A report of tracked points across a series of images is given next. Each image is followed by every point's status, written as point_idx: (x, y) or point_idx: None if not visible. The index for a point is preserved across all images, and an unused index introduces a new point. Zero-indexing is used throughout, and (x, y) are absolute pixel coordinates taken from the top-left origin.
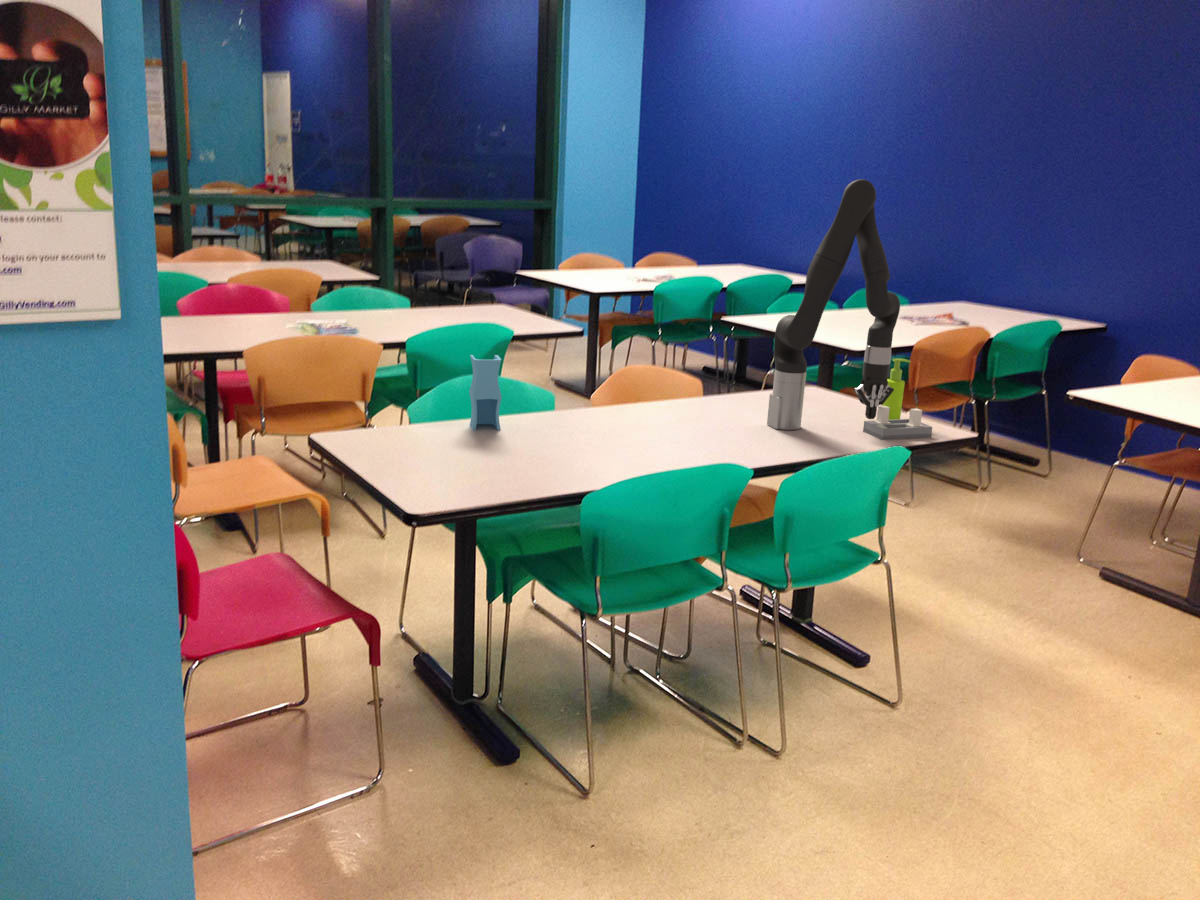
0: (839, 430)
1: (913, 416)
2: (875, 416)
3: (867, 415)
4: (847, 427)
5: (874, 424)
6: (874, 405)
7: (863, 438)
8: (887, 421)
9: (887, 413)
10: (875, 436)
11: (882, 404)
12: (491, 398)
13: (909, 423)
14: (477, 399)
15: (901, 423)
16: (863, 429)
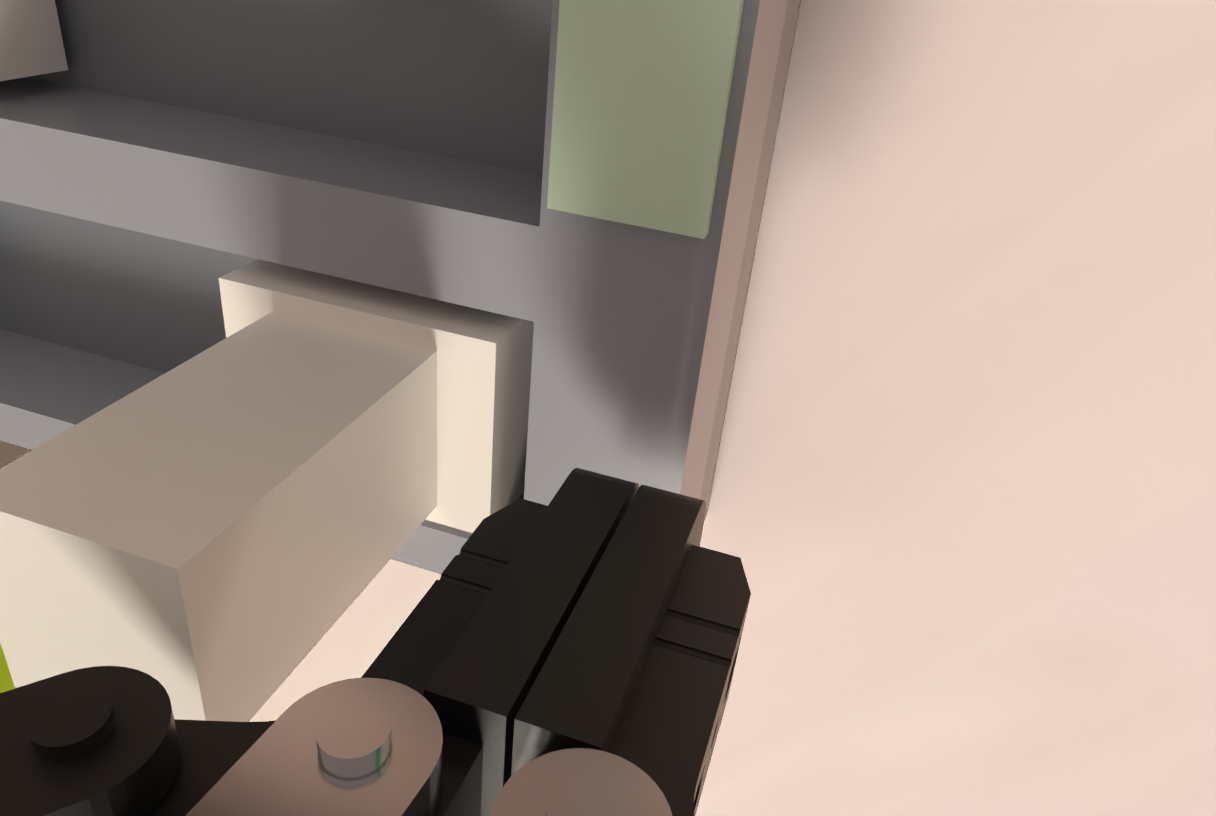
0: (1087, 726)
1: None
2: (511, 503)
3: (742, 615)
4: (777, 753)
5: (655, 343)
6: (442, 774)
7: (1194, 108)
8: (269, 322)
9: (149, 420)
10: (774, 130)
11: (112, 666)
12: None
13: None
14: None
15: (17, 181)
16: None
